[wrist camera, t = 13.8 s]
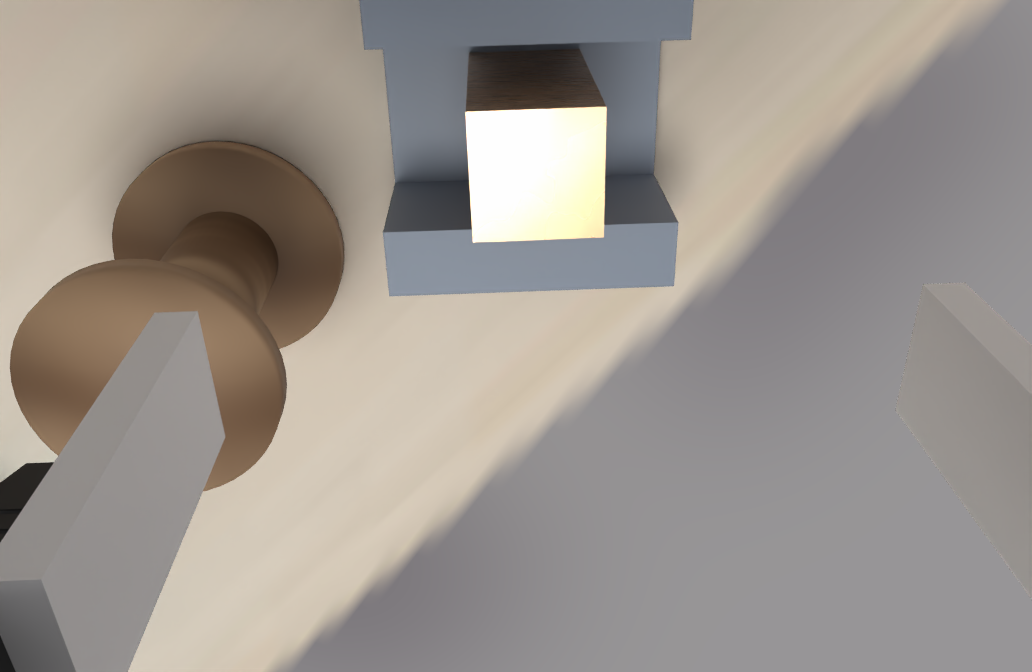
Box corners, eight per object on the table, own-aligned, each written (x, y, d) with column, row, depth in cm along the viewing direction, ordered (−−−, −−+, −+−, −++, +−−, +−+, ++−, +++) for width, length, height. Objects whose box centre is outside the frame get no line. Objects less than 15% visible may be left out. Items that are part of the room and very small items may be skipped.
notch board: (376, -60, 32) (355, -39, 26) (660, -69, 32) (697, -49, 26) (403, 231, 37) (389, 298, 32) (645, 222, 37) (673, 288, 32)
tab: (468, 52, 33) (465, 111, 26) (579, 48, 33) (606, 106, 26) (474, 160, 34) (472, 242, 27) (578, 155, 35) (603, 237, 28)
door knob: (96, 145, 35) (-50, 262, 25) (330, 137, 35) (273, 251, 25) (147, 347, 39) (40, 512, 30) (355, 339, 39) (314, 501, 30)
